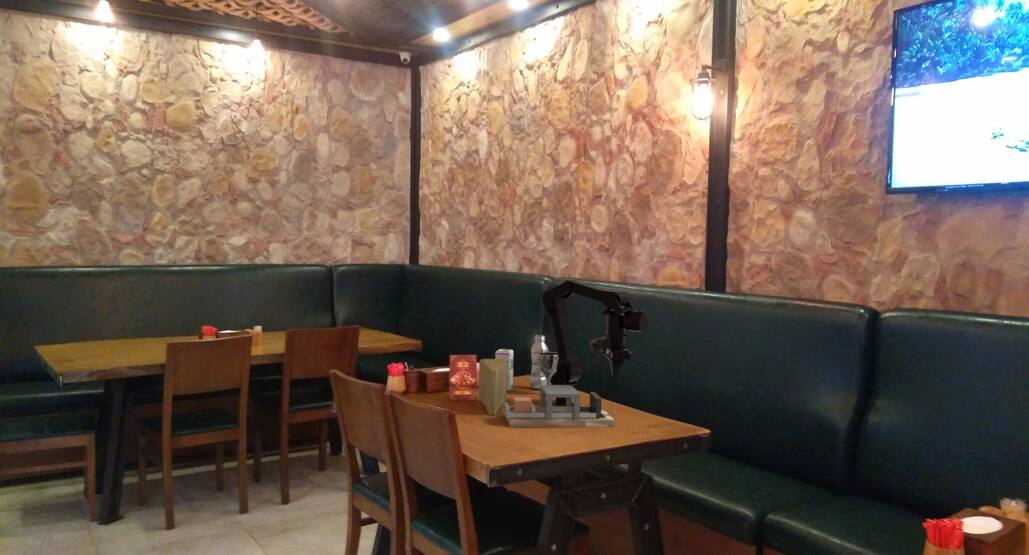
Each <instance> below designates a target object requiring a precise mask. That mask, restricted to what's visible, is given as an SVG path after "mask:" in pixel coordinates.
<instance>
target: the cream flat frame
mask: <svg viewBox="0 0 1029 555" xmlns="http://www.w3.org/2000/svg"><path fill="white" fill-rule="evenodd" d="M552 412H574V411H552ZM580 412H590V411H580ZM509 413H513V411H509ZM535 413H546V411H535ZM506 420H507V423H508V425H509V427H510V428H577V427H578V428H584V427H585V428H586V427H589V428H590V427H591V428H592V427H593V428H594V427H595V428H598V427H601V428H602V427H603V428H605V427H607V428H609V427H610V428H612V427H613V428H614V427H615V423H616V422H615V421H616V420H615V418H613V417H612V416H611V415H610V414H609V413H608V412H607V411H606V410H605V409H601V418H579V420H574V419H573V418H552V420H546V418H506Z"/></svg>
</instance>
